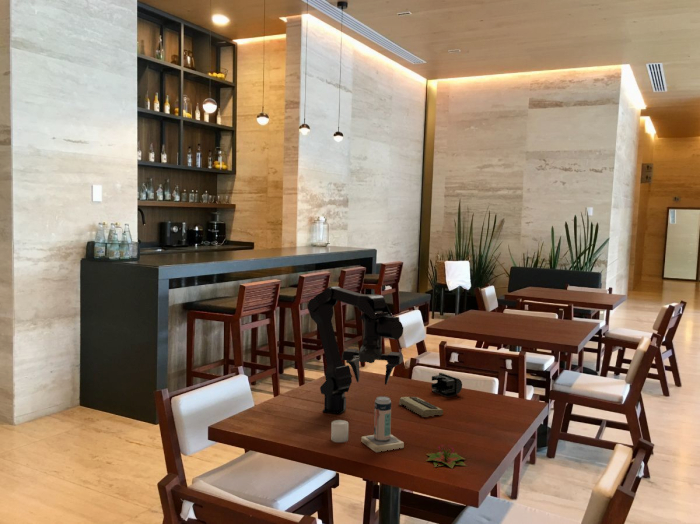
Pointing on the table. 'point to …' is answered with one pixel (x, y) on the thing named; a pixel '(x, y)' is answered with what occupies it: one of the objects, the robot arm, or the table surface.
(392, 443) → the stand
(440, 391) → the end cap
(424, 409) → the computer
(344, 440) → the white rounded cylinder
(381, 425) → the beer can
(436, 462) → the lily flower
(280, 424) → the table surface
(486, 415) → the table surface
